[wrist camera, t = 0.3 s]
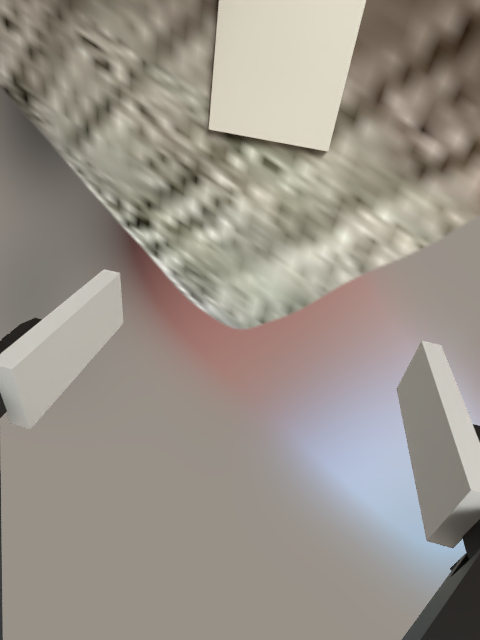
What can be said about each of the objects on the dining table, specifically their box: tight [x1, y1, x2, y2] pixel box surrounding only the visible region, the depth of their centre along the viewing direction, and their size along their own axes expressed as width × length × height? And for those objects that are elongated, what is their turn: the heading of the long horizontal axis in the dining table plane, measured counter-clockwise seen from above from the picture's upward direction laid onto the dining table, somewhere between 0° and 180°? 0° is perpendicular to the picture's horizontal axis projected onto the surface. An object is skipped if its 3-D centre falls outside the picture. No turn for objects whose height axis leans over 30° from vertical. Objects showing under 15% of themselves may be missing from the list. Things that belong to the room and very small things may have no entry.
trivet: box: [209, 0, 366, 151], centre depth 33 cm, size 12×12×1 cm
